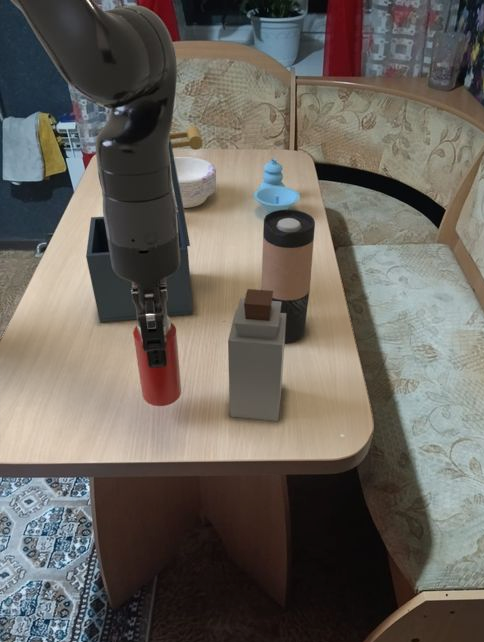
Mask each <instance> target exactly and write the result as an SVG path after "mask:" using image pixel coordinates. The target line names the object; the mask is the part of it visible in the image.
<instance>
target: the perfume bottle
mask: <svg viewBox="0 0 484 642" xmlns="http://www.w3.org/2000/svg"><path fill="white" fill-rule="evenodd" d="M272 297H273V291H268V290H261V289H254V288H247V289H246V293H245V298H239V301H238V306H237V308H236V309H235V311H234V314H233V319H232V322H231V326H230V331H229V335H228V340H227V349H228V350H227V355H228V356H227V357H228V359H227V360H228V396H229V397H228V398H229V399H228V400H229V401H228V403H229V417H231V418H239V419H240V418H241V419H251V420H261V421H274V422H275V421H276V422H278V421H279V418H280V417H279V416H280V409H281V398H282V391H283V389H282V388H283V377H284V376H283V374H284V359H285V344H286V343H285V328H286V313H280V311H281V303H282V302H279V301H272Z"/></svg>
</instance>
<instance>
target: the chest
mask: <svg viewBox="0 0 484 642" xmlns="http://www.w3.org/2000/svg"><path fill="white" fill-rule="evenodd" d="M177 222H178V236H179V249H180V266H179V268H178V270H177V271H176V272H175V273H174V274H172V275H171V276H169V277H168V278H166V285H167V296H168V299H167V301H166V309H167V315H168V316H169V318H170V317H181V316H192V315H193V300H192V299H193V298H192V287H191V274H190V260H189V246H186V247H185V244H184V239H183V234H182V229H181V223H180V218H179V213H178V211H177ZM85 257H86V263H87V267H88V272H89V277H90V282H91V286H92V291H93V296H94V301H95V305H96V310H97V311H96V312H97V316H98V319H99V323H100V324H102V323H103V324H105V323H114V322H125V321H137V316H136V307H135V304H134V303H133V301H132V292H131V288H133V287H132V282H131V281H128V280H125V279H123V278H121V277H119V276H118V275H117V274H116V273H115V272H114V270H113V268H112V263H111V257H110V251H109V245H108V239H107V233H106V227H105V221H104V216H92V217H90V221H89V231H88V239H87V247H86V254H85ZM140 306H141V305H140ZM141 312H142V309H141Z"/></svg>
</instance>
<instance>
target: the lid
mask: <svg viewBox="0 0 484 642" xmlns="http://www.w3.org/2000/svg"><path fill="white" fill-rule="evenodd" d="M184 138H187V139H186V140H178V141H172V140H177V139H184ZM186 147H190V149H192V150H196V151H197V150H200V149H201V148H202V147H203V139H202V136H201V133H200V129H199V127H198V126H196V125H190V126H188V127H187V128H186V130H185V131H184V130H183V131H177V132H172V133H171V132H170V137H169V154H170V163H171V176H172V183H173V188H174V193H175V198H176V203H177V207H176V209H177V212H178V213H179V218H180V223H181V229H182V234H183V239H184V244H185V247H186V246H187V247H190V246H191V242H190V236H189V232H188V226H187V220H186V213H185V208H184V207H183V202H182V196H181V191H180V186H179V181H178V175H177V170H176V165H175V160H174V157H175V155H174V150H173V149H178V148H186Z"/></svg>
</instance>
